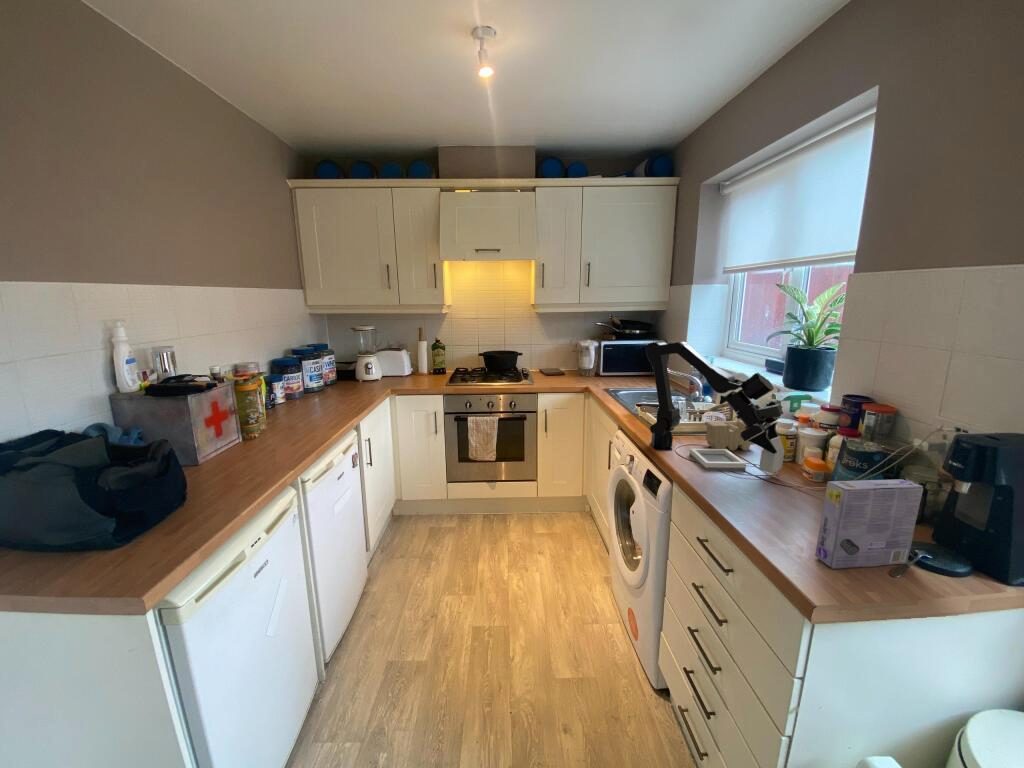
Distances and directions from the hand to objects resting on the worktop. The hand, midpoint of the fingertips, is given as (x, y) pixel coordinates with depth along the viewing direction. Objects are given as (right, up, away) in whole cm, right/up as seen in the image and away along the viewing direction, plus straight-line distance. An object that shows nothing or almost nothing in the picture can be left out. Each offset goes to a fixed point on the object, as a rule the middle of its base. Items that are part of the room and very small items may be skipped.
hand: (778, 450), depth 125 cm
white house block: (-1, -6, +2) cm, 7 cm away
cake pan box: (-7, -18, -38) cm, 42 cm away
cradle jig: (-12, -6, +14) cm, 20 cm away
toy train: (-1, -4, +27) cm, 28 cm away
